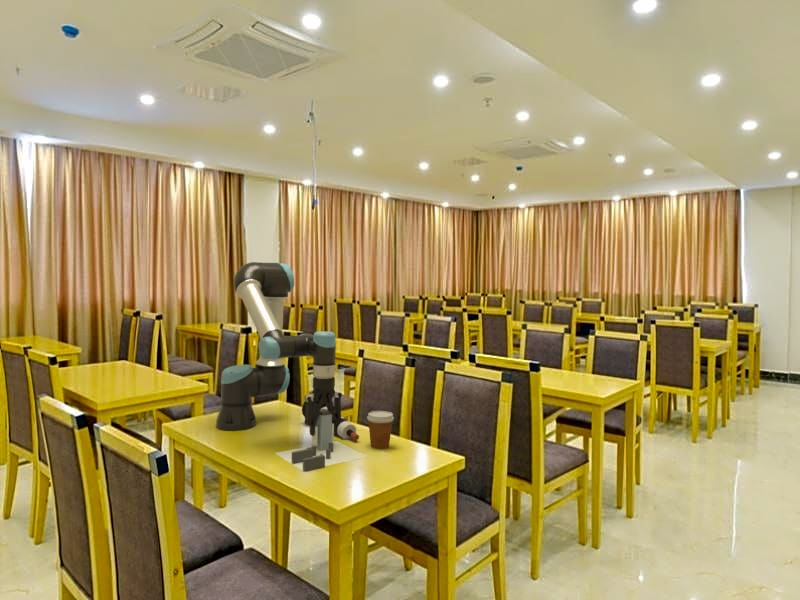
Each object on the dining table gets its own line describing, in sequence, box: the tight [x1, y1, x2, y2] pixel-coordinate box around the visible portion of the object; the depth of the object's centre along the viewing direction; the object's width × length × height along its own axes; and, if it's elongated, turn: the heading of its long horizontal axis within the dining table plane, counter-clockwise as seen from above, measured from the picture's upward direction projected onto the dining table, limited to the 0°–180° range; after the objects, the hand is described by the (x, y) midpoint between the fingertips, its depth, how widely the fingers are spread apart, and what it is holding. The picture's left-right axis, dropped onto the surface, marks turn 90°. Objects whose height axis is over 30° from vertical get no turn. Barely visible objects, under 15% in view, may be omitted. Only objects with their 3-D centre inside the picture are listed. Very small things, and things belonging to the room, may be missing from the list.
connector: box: [313, 409, 332, 451], centre depth 188 cm, size 5×4×13 cm
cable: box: [301, 398, 360, 441], centre depth 209 cm, size 10×34×10 cm, turn 37°
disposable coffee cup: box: [366, 410, 395, 450], centre depth 192 cm, size 10×10×12 cm
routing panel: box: [274, 440, 368, 472], centre depth 181 cm, size 20×24×4 cm
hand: (322, 442), depth 188 cm, fingers open, 6 cm apart
